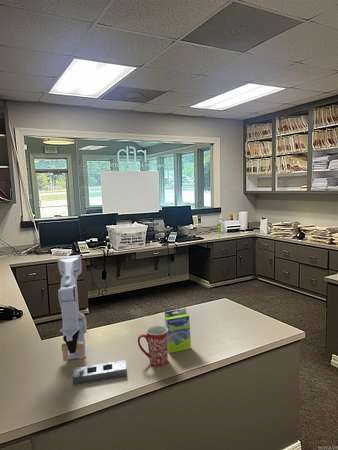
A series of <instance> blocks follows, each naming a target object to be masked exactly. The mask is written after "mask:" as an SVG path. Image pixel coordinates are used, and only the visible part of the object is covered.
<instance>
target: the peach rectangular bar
mask: <svg viewBox="0 0 338 450" xmlns="http://www.w3.org/2000/svg"><path fill="white" fill-rule="evenodd" d="M83 348H84V342H83V341H81V342H77V343H76V350H77V349H79V358H78V360H83V359H84V358H85V357H84V349H83ZM61 352H62V361H63V362H64V363H65V362H68V361H69V360H68V353H69V349H68V346H67V344H66V343H62V344H61Z"/></svg>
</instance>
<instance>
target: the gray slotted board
mask: <svg viewBox="0 0 338 450" xmlns="http://www.w3.org/2000/svg"><path fill="white" fill-rule="evenodd" d="M127 376H128V371H127V364H126V360H125V359H123V360H117V361H111V362H110V361H109V362H105V363H99V364H93V365H85V366H80V367H74V368H73V372H72V376H71V378H72V379H71V380H72V386H73V385H74V386H78V384H80V385H86V384H91V383H95V382H96V381H97V382H102V380H103V381H108V380H113V379H119V378H124V377H127ZM90 382H91V383H90Z"/></svg>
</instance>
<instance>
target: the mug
mask: <svg viewBox="0 0 338 450" xmlns="http://www.w3.org/2000/svg"><path fill="white" fill-rule="evenodd" d="M145 333H146V334H145ZM145 333H144V334H139V335H138V337H137V345H138V347H139V349H140V351H142V353H143V354H144V355H145V356H146V357H147V358H148V359H149V363H150V364H151V365H152V366H155V367H156V366H157V367H158V366H159V367H160V366H163V365H165V364H167V363H168V361H169V360H168V359H169V358H168V356H169V355H168V354H169V352H168V328H166V326H164V325H154V326H153V325H152V326H150V327H148V328H146V330H145ZM141 338H144V339H145V340H146V342H147V347H148V352H147V351H146V350H145V349H144V347H142V345H141V341H140V340H141Z"/></svg>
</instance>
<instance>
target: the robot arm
mask: <svg viewBox="0 0 338 450" xmlns="http://www.w3.org/2000/svg"><path fill="white" fill-rule="evenodd" d="M57 265H58V266H57V267H58V271H59V274H60V276H62V277H61V278H60V287H59V288H60V289H58V291H57V297H58V301H59V307H60V310H61V319H62V328H60V329H59V332H60V333H62V335H63V341H64V343H65V344H67V346H68V349H69V351H68V361H70V360H76V359H79V349H77V350H76V343H77V342H81V341H83V342H84V348H83V349H84V358H86V357H87V355H88V346H86V342H85V341H86V340H85V339H86V338H85V334H87V330H88V328H87V320H86V315H85V314H84V313H82V312H80V309H79V296H78V295H79V294H78V292H79V291H78V281H77V280H78V277H79V276H80V275H81V274H82V271H83V270H82V267H83V266H82V256H81V255H80V254H78V255H77V254H76V255H75V254H74V255H68V256H58V258H57Z"/></svg>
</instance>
